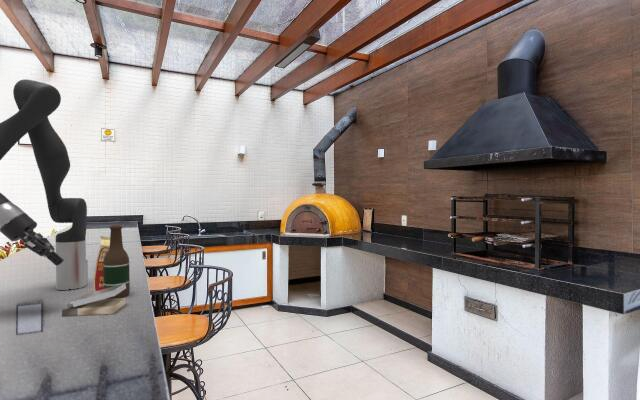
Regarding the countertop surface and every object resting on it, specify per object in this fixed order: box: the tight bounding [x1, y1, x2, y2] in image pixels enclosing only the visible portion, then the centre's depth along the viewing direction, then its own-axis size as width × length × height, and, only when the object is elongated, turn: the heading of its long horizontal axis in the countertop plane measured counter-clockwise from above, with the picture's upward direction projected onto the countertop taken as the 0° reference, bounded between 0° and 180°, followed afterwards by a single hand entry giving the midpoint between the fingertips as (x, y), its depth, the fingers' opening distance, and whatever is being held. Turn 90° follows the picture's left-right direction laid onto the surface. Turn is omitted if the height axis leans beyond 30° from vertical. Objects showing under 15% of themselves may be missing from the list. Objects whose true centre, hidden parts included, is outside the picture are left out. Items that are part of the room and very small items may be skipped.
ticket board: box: [61, 297, 126, 317], centre depth 107 cm, size 14×9×2 cm, turn 99°
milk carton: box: [92, 235, 124, 292], centre depth 129 cm, size 9×9×20 cm
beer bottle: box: [103, 224, 131, 299], centre depth 122 cm, size 8×8×24 cm
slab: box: [66, 283, 126, 307], centre depth 108 cm, size 2×9×13 cm
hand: (60, 263), depth 108 cm, fingers closed
